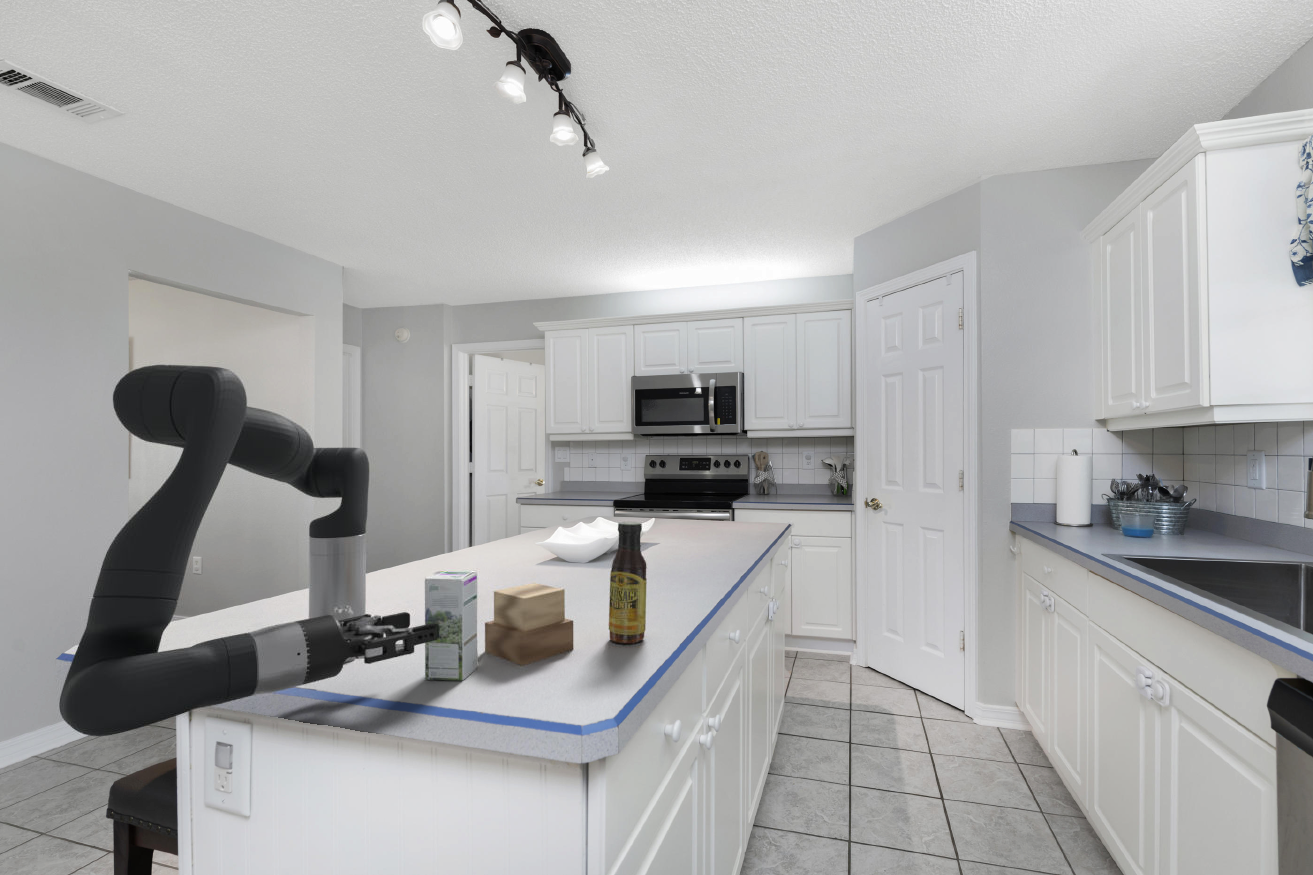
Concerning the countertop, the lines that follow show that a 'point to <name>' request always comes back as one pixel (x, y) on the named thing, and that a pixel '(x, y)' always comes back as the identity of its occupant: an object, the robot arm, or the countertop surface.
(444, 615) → the syrup box
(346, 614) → the rook chess piece
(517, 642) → the lower block
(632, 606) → the sauce bottle
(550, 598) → the upper block
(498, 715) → the countertop surface
